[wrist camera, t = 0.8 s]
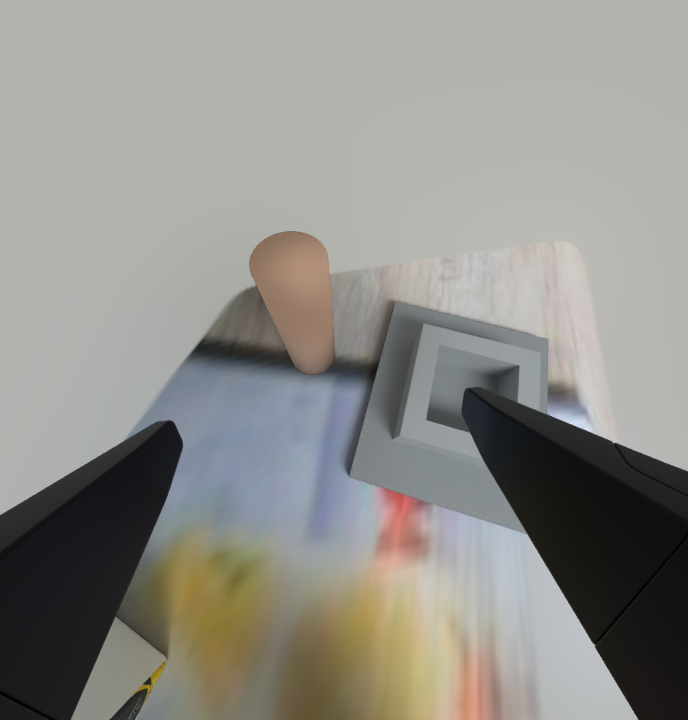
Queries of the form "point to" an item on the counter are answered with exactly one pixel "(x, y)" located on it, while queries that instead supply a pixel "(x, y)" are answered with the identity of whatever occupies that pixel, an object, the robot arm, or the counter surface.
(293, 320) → the dowel
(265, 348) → the counter surface
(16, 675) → the robot arm
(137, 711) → the medicine bottle
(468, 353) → the socket
